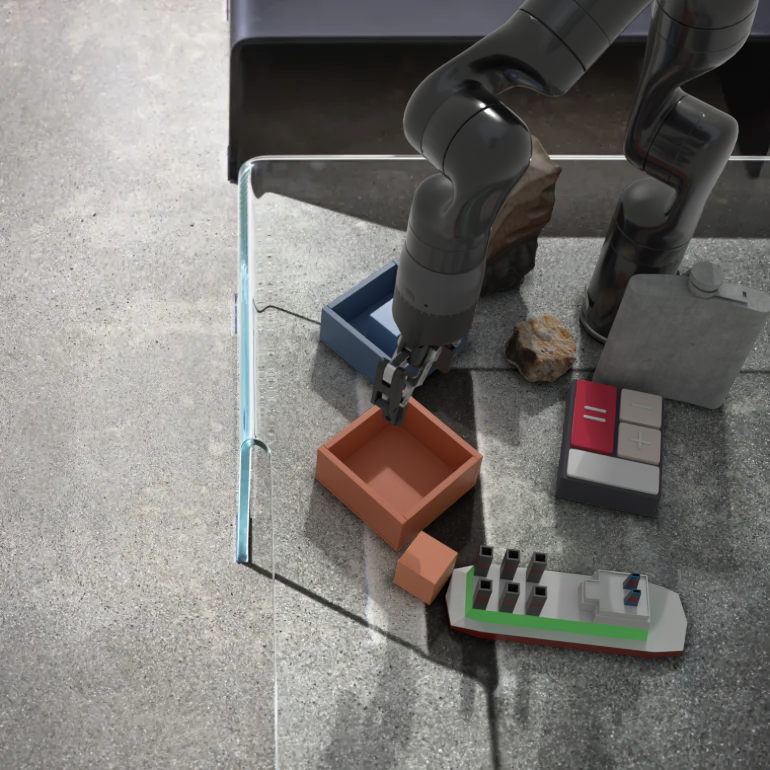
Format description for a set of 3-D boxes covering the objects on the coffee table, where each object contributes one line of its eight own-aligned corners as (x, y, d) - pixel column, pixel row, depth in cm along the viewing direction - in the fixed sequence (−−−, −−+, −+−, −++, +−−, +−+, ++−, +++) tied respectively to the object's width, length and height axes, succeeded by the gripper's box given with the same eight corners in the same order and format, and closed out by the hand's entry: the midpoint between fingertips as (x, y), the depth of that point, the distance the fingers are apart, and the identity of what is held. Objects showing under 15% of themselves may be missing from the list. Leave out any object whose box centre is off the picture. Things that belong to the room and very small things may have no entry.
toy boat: (446, 565, 122) (457, 527, 115) (681, 593, 122) (704, 556, 116) (442, 633, 117) (453, 597, 111) (687, 662, 117) (711, 627, 111)
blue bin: (391, 288, 145) (396, 257, 141) (466, 346, 140) (473, 316, 136) (319, 339, 139) (321, 308, 135) (394, 402, 134) (398, 372, 130)
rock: (541, 399, 137) (600, 350, 140) (535, 366, 132) (596, 316, 135) (491, 364, 142) (549, 318, 145) (484, 331, 138) (544, 284, 141)
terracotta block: (416, 551, 122) (421, 530, 119) (452, 574, 121) (458, 552, 118) (393, 582, 120) (397, 561, 116) (429, 605, 119) (435, 584, 115)
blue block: (391, 320, 141) (395, 295, 138) (418, 342, 139) (423, 317, 136) (365, 339, 139) (369, 314, 135) (392, 361, 137) (396, 336, 134)
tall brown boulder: (426, 231, 152) (446, 110, 136) (519, 230, 154) (550, 109, 138) (440, 304, 144) (464, 184, 129) (538, 301, 146) (573, 182, 130)
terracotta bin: (394, 415, 133) (399, 386, 129) (475, 484, 128) (483, 456, 124) (314, 477, 127) (317, 448, 122) (397, 552, 122) (402, 524, 118)
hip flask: (591, 392, 138) (635, 277, 122) (591, 366, 140) (634, 250, 125) (723, 410, 138) (784, 298, 122) (720, 384, 140) (780, 270, 125)
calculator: (667, 392, 134) (664, 495, 124) (656, 416, 137) (652, 518, 127) (573, 373, 135) (563, 474, 125) (565, 397, 138) (554, 497, 128)
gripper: (430, 350, 97) (408, 459, 110) (515, 256, 105) (485, 368, 117) (357, 307, 99) (344, 419, 112) (446, 218, 107) (424, 332, 120)
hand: (416, 393), depth 115 cm, fingers open, 8 cm apart
